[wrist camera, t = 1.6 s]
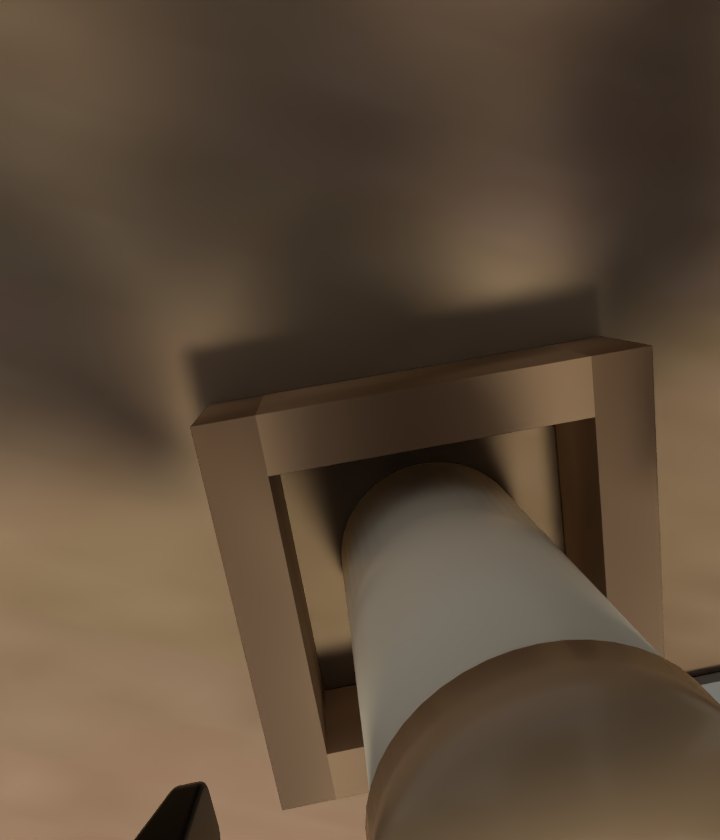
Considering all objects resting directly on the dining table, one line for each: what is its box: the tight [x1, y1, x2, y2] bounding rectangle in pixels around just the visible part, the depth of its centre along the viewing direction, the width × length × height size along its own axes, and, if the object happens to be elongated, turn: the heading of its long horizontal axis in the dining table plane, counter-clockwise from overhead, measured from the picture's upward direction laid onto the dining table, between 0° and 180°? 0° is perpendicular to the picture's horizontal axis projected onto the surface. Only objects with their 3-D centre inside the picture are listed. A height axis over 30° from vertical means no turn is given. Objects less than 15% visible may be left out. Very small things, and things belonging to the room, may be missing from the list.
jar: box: [341, 462, 720, 840], centre depth 10 cm, size 5×5×8 cm
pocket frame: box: [190, 336, 665, 810], centre depth 13 cm, size 9×9×2 cm
